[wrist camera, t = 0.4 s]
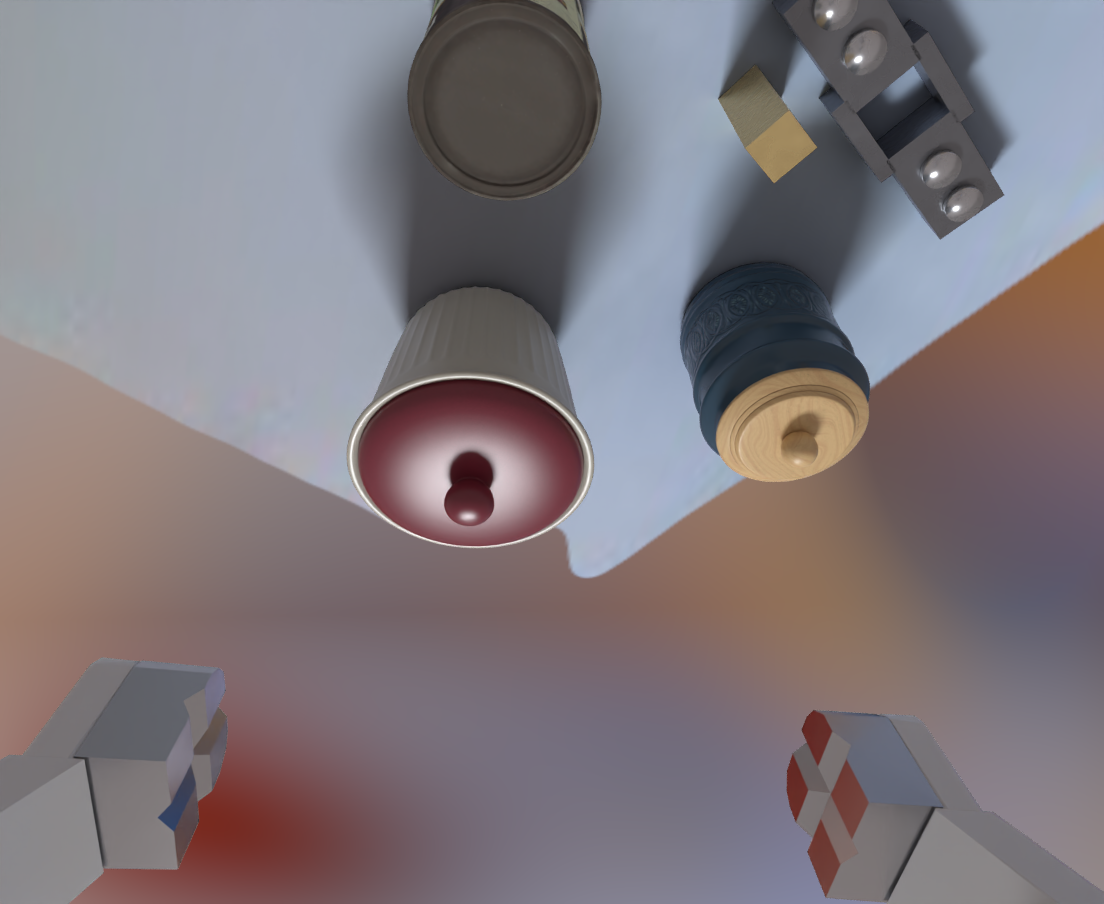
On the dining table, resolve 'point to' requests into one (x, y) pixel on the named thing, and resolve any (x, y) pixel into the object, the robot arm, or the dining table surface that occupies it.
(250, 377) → the dining table surface
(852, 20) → the silver studded bar
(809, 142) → the gold rectangular block
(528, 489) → the canister
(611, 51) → the dining table surface
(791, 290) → the canister
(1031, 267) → the dining table surface
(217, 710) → the robot arm
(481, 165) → the coffee can
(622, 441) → the dining table surface
